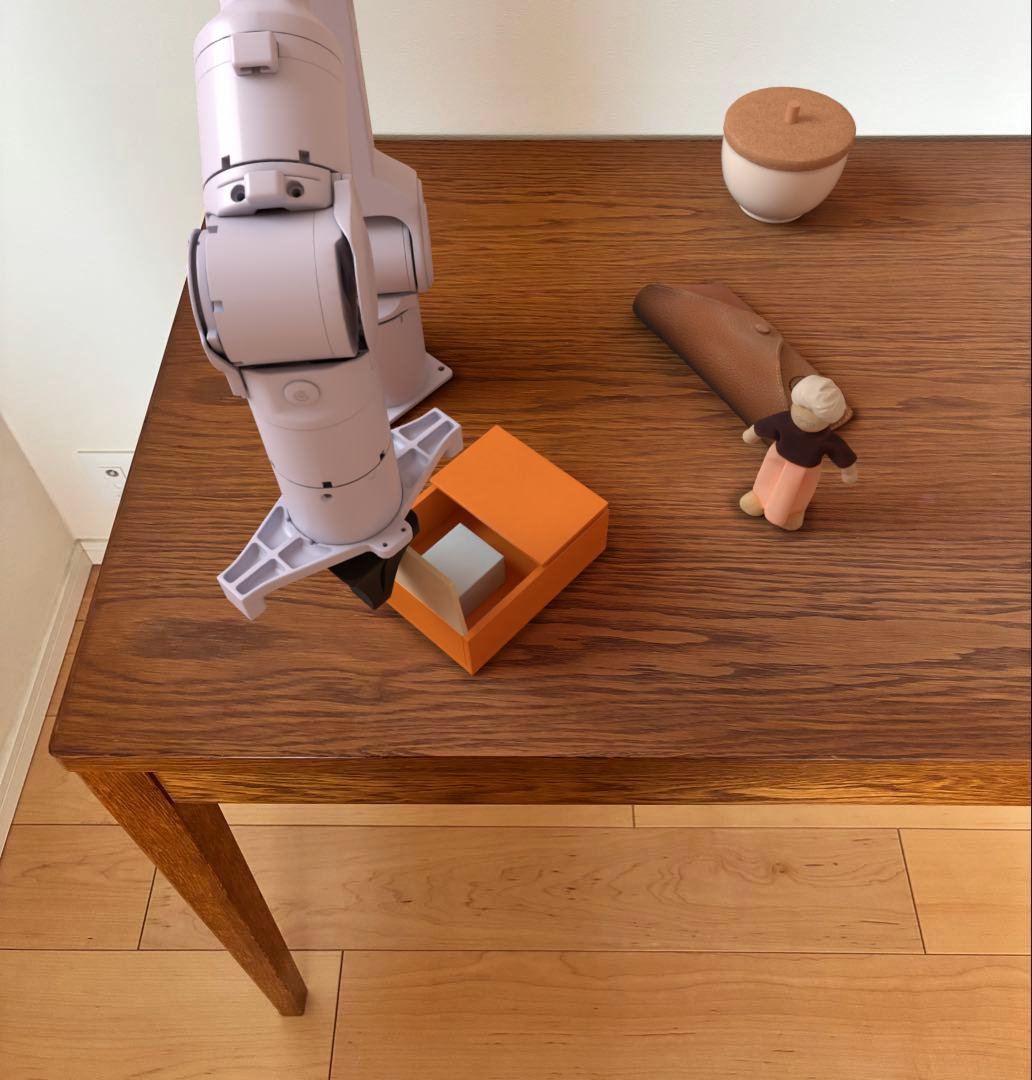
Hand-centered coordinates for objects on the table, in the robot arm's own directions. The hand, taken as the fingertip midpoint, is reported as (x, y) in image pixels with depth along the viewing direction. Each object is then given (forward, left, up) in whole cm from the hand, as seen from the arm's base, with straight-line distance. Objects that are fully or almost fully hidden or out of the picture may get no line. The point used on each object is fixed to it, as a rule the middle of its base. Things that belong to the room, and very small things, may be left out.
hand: (371, 593), depth 57 cm
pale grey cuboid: (0, +6, -7) cm, 9 cm away
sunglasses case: (+2, +35, -8) cm, 36 cm away
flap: (0, +2, +1) cm, 3 cm away
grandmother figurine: (+12, +26, -8) cm, 30 cm away
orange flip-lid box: (0, +9, -8) cm, 12 cm away
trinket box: (-8, +54, -8) cm, 55 cm away
